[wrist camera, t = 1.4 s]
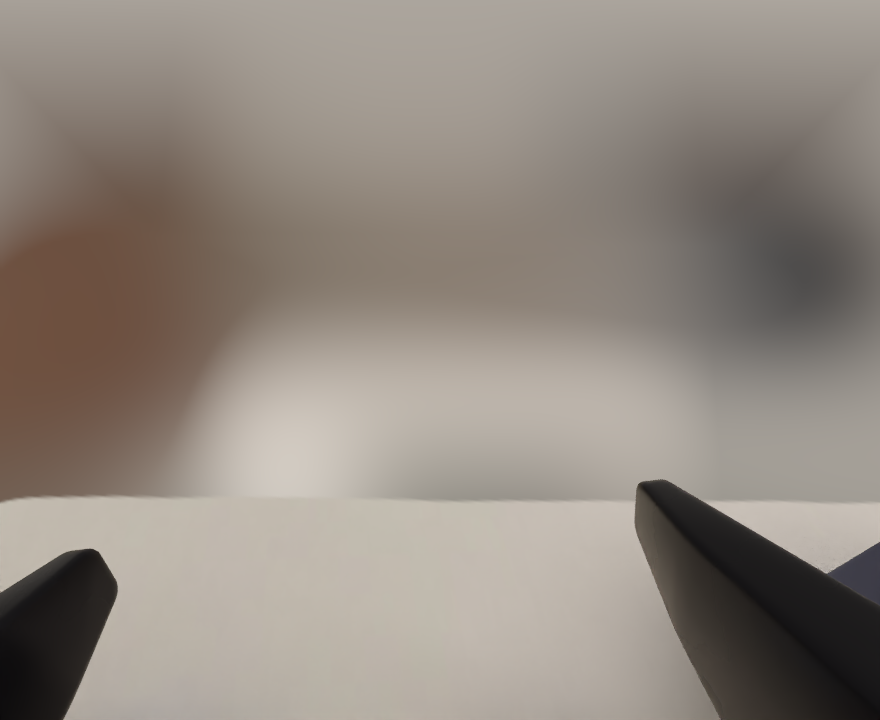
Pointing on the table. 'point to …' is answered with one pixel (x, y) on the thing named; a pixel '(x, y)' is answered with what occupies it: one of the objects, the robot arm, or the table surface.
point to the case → (862, 573)
